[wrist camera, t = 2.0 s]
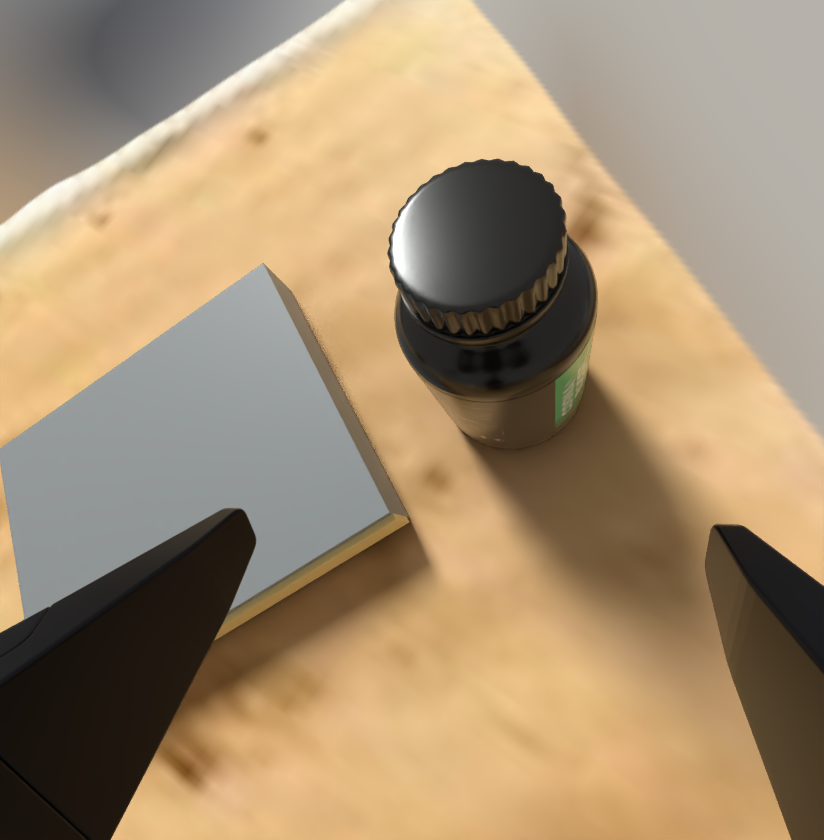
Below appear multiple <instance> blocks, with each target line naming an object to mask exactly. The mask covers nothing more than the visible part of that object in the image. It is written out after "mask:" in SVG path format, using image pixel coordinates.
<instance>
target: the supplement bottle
mask: <svg viewBox="0 0 824 840" xmlns="http://www.w3.org/2000/svg"><path fill="white" fill-rule="evenodd" d="M392 229H393V231H392V233H391V235H390V237H389V244H390V247H389V249H388V253H387V254H388V257H389V259H390V265H389V268H390V272H391V274H392V275H393V277H394V280H395V284H396V286H397V288H398V292H397V296H396V302H395V311H394V320H395V329H396V334H397V338H398V341H399V344H400V347H401V349H402V351H403V353H404V355H405V357H406V359H407V360H408V362H409V364H410V365H411V367H412V368H413V369H414V371H415V372H416V373H417V375H418V376H419V377H420V379H421V380H422V381H423V382H424V384H425V385H426V386H427V388H428V389H429V390H430V392H431V393H432V394H433V395H434V397H435V398H436V399H437V401H438V402H439V403H440V405H441V406H442V407H443V408H444V410H445V411H446V412H447V414H448V415H449V416H450V418H451V419H452V420H453V421H454V422H455V424H456V425H457V426H458V427H459V428H460V429H461V430H462V431H463V432H465V433H466V434H467V435H468V436H470V437H471V438H473V439H475V440H476V441H478V442H480V443H483V444H485V445H488V446H492V447H496V448H503V449H518V448H525V447H529V446H533V445H536V444H538V443H541V442H543V441H545V440H547V439H549V438H550V437H552V436H554V435H555V434H556V433H558V432H559V431H560V430H561V429H562V428H563V427H564V426H565V425H566V424H567V423H568V422H569V421H570V419H571V418H572V417H573V415H574V413H575V412H576V410H577V408H578V406H579V404H580V401H581V398H582V395H583V391H584V386H585V382H586V376H587V370H588V364H589V358H590V352H591V346H592V340H593V334H594V328H595V322H596V315H597V304H598V291H597V283H596V278H595V274H594V271H593V269H592V266H591V263H590V261H589V259H588V257H587V256H586V254H585V253H584V251H583V250H582V248H581V247H580V246H579V244H578V243H577V242H576V241H575V240H574V239H573V238H572V237H571V236H570V235H569V234H568V233H567V230H566V213H565V211H564V209H563V208H562V199H561V197H560V196H559V195H558V194H557V193H556V192H555V190H554V186H553V184H551V183H550V182H547V181H545V179H544V177H543V175H542V174H540V173H536V172H533V170H532V169H531V168H530V167H529V166H522V165H519V164H518V163H516V162H515V161H503V160H500V159H493V160H484V159H480V160H477V161H475V162H464V163H462V164H461V165H459V166H457V167H451V168H448V169H447V170H445V171H444V172H443V173H441V174H438V175H435V176H433V177H432V178H431V179H430V180H429V181H428V182H427V183H425V184H423V185H421V186H420V187H419V188H418V190H417V191H416V193H414V194H413V195H411V196H410V197H409V198H408V200H407V202H406V204H405V205H404V206H403V207H402V208H401V209H400V210H399V213H398V218H397V219H396V220H395V222H394V223H393V225H392Z"/></svg>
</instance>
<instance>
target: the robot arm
mask: <svg viewBox="0 0 824 840" xmlns="http://www.w3.org/2000/svg"><path fill="white" fill-rule="evenodd" d="M255 547H256V535H255V533H254V530H253V528H252V526H251V523H250V521H249V519H248V516H247V514H246V512H245V511H244V510H243V509H241V508H224V509H222V510H220V511H218V512H216V513H214V514H213V515H211V516H209V517H207V518H205V519H204V520H202V521H200V522H198V523H197V524H195V525H193V526H191V527H189V528H188V529H186V530H184V531H182V532H180V533H179V534H177V535H175V536H173V537H172V538H170V539H168V540H166V541H164V542H163V543H161V544H159V545H157V546H155V547H154V548H152V549H150V550H148V551H147V552H145V553H143V554H141V555H139V556H138V557H136V558H134V559H132V560H130V561H129V562H127V563H125V564H123V565H121V566H120V567H118V568H116V569H114V570H113V571H111V572H109V573H107V574H105V575H104V576H102V577H100V578H98V579H96V580H95V581H93V582H91V583H89V584H88V585H86V586H84V587H82V588H80V589H79V590H77V591H75V592H73V593H71V594H70V595H68V596H66V597H64V598H63V599H61V600H59V601H57V602H55V603H54V604H52V605H51V607H46V608H44V609H43V610H41V611H39V612H37V613H36V614H34V615H32V616H30V617H28V618H27V619H25V620H23V621H21V622H19V623H17V624H16V625H14V626H12V627H10V628H8V629H6V630H5V631H3V632H1V633H0V840H111V838H112V836H113V834H114V832H115V830H116V828H117V826H118V825H119V823H120V821H121V819H122V817H123V815H124V813H125V811H126V809H127V807H128V805H129V803H130V801H131V800H132V798H133V796H134V794H135V792H136V790H137V788H138V786H139V784H140V782H141V780H142V778H143V776H144V774H145V773H146V771H147V769H148V767H149V765H150V763H151V761H152V759H153V757H154V755H155V753H156V751H157V749H158V748H159V746H160V744H161V742H162V740H163V738H164V736H165V734H166V732H167V730H168V728H169V726H170V724H171V723H172V721H173V719H174V717H175V715H176V713H177V711H178V709H179V707H180V705H181V703H182V701H183V699H184V698H185V696H186V694H187V692H188V690H189V688H190V686H191V684H192V682H193V680H194V678H195V676H196V674H197V673H198V671H199V669H200V667H201V665H202V663H203V661H204V659H205V657H206V655H207V653H208V651H209V649H210V647H211V646H212V644H213V642H214V640H215V638H216V636H217V634H218V632H219V630H220V628H221V626H222V624H223V622H224V620H225V618H226V616H227V614H228V612H229V610H230V608H231V606H232V603H233V601H234V599H235V596H236V594H237V591H238V589H239V586H240V584H241V581H242V579H243V577H244V574H245V572H246V569H247V567H248V564H249V562H250V559H251V557H252V554H253V552H254V549H255ZM705 570H706V576H707V580H708V584H709V589H710V593H711V597H712V601H713V606H714V610H715V614H716V618H717V622H718V627H719V631H720V635H721V639H722V643H723V648H724V652H725V655H726V659H727V663H728V666H729V669H730V672H731V675H732V678H733V681H734V684H735V687H736V690H737V692H738V695H739V698H740V700H741V703H742V706H743V709H744V711H745V714H746V717H747V720H748V722H749V725H750V728H751V730H752V733H753V736H754V739H755V741H756V744H757V747H758V750H759V752H760V755H761V758H762V761H763V763H764V766H765V769H766V771H767V774H768V777H769V780H770V782H771V785H772V788H773V791H774V793H775V796H776V799H777V801H778V804H779V807H780V810H781V812H782V815H783V818H784V821H785V823H786V826H787V829H788V831H789V834H790V837H791V840H824V586H823V585H822V584H820V583H819V582H818V581H816V580H815V579H814V578H812V577H811V576H810V575H808V574H807V573H806V572H804V571H803V570H802V569H800V568H799V567H798V566H796V565H795V564H794V563H792V562H791V561H790V560H788V559H787V558H786V557H784V556H783V555H782V554H781V553H779V552H778V551H777V550H775V549H774V548H773V547H771V546H770V545H769V544H767V543H766V542H765V541H763V540H762V539H761V538H759V537H758V536H757V535H755V534H754V533H753V532H751V531H750V530H749V529H747V528H746V527H744V526H742V525H735V524H716V525H714V526H713V527H712V528H711V531H710V536H709V542H708V548H707V553H706V559H705Z"/></svg>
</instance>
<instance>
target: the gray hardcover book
mask: <svg viewBox="0 0 824 840" xmlns="http://www.w3.org/2000/svg"><path fill="white" fill-rule="evenodd" d="M0 465H1V472H2V478H3V484H4V491H5V497H6V504H7V510H8V516H9V523H10V529H11V536H12V542H13V548H14V555H15V561H16V567H17V574H18V580H19V587H20V593H21V599H22V606H23V612H24V619H27V618H28V617H30V616H32V615H34V614H36V613H37V612H39V611H41V610H43V609H44V608H46V607H51V605H52V604H54V603H55V602H57V601H59V600H61V599H63V598H64V597H66V596H68V595H70V594H71V593H73V592H75V591H77V590H79V589H80V588H82V587H84V586H86V585H88V584H89V583H91V582H93V581H95V580H96V579H98V578H100V577H102V576H104V575H105V574H107V573H109V572H111V571H113V570H114V569H116V568H118V567H120V566H121V565H123V564H125V563H127V562H129V561H130V560H132V559H134V558H136V557H138V556H139V555H141V554H143V553H145V552H147V551H148V550H150V549H152V548H154V547H155V546H157V545H159V544H161V543H163V542H164V541H166V540H168V539H170V538H172V537H173V536H175V535H177V534H179V533H180V532H182V531H184V530H186V529H188V528H189V527H191V526H193V525H195V524H197V523H198V522H200V521H202V520H204V519H205V518H207V517H209V516H211V515H213V514H214V513H216V512H218V511H220V510H222V509H224V508H241V509H243V510H244V511H245V512H246V514H247V516H248V519H249V521H250V523H251V526H252V528H253V530H254V533H255V535H256V547H255V549H254V552H253V554H252V557H251V559H250V562H249V564H248V567H247V569H246V572H245V574H244V577H243V579H242V581H241V584H240V586H239V589H238V591H237V594H236V596H235V599H234V601H233V603H232V606H231V608H230V610H229V612H228V614H227V616H226V618H225V620H224V622H223V624H222V626H221V628H220V630H219V632H218V634H217V636H216V638H215V640H216V639H218V638H220V637H221V636H223V635H225V634H226V633H228V632H230V631H231V630H233V629H235V628H236V627H238V626H239V625H241V624H243V623H244V622H246V621H248V620H249V619H251V618H253V617H254V616H256V615H258V614H259V613H261V612H263V611H264V610H266V609H267V608H269V607H271V606H272V605H274V604H276V603H277V602H279V601H281V600H282V599H284V598H286V597H287V596H289V595H290V594H292V593H294V592H295V591H297V590H299V589H300V588H302V587H304V586H305V585H307V584H309V583H310V582H312V581H313V580H315V579H317V578H318V577H320V576H322V575H323V574H325V573H327V572H328V571H330V570H332V569H333V568H335V567H337V566H338V565H340V564H341V563H343V562H345V561H346V560H348V559H350V558H351V557H353V556H355V555H356V554H358V553H360V552H361V551H363V550H364V549H366V548H368V547H369V546H371V545H373V544H374V543H376V542H378V541H379V540H381V539H383V538H384V537H386V536H387V535H389V534H391V533H392V532H394V531H396V530H397V529H399V528H401V527H402V526H404V525H406V524H407V523H409V521H408V518H409V516H408V514H407V512H406V510H405V508H404V506H403V504H402V502H401V500H400V498H399V497H398V495H397V493H396V491H395V489H394V487H393V485H392V483H391V481H390V479H389V477H388V475H387V474H386V472H385V470H384V468H383V466H382V464H381V462H380V460H379V458H378V456H377V454H376V453H375V451H374V449H373V447H372V445H371V443H370V441H369V439H368V437H367V435H366V433H365V431H364V430H363V428H362V426H361V424H360V422H359V420H358V418H357V416H356V414H355V412H354V410H353V409H352V407H351V405H350V403H349V401H348V399H347V397H346V395H345V393H344V391H343V389H342V387H341V386H340V384H339V382H338V380H337V378H336V376H335V374H334V372H333V370H332V368H331V366H330V365H329V363H328V361H327V359H326V357H325V355H324V353H323V351H322V349H321V347H320V345H319V343H318V342H317V340H316V338H315V336H314V334H313V332H312V330H311V328H310V326H309V324H308V322H307V321H306V319H305V317H304V315H303V313H302V311H301V309H300V307H299V305H298V303H297V301H296V299H295V298H294V296H293V294H292V292H291V290H290V289H289V288H288V287H287V286H286V285H285V284H284V283H283V282H282V281H281V280H280V279H279V278H278V277H277V276H276V275H275V274H274V273H273V272H272V271H271V270H270V269H269V268H268V267H267V266H266V265H265V264H264V263H262V264H261V265H260V266H258V267H257V268H255V269H254V270H253V271H251V272H250V273H248V274H247V275H245V276H244V277H243V278H241V279H240V280H238V281H237V282H236V283H234V284H233V285H231V286H230V287H228V288H227V289H226V290H224V291H223V292H221V293H220V294H219V295H217V296H216V297H214V298H213V299H211V300H210V301H209V302H207V303H206V304H204V305H203V306H202V307H200V308H199V309H197V310H196V311H194V312H193V313H192V314H190V315H189V316H187V317H186V318H185V319H183V320H182V321H180V322H179V323H177V324H176V325H175V326H173V327H172V328H170V329H169V330H168V331H166V332H165V333H163V334H162V335H160V336H159V337H158V338H156V339H155V340H153V341H152V342H151V343H149V344H148V345H146V346H145V347H143V348H142V349H141V350H139V351H138V352H136V353H135V354H134V355H132V356H131V357H129V358H128V359H126V360H125V361H124V362H122V363H121V364H119V365H118V366H117V367H115V368H114V369H112V370H111V371H109V372H108V373H107V374H105V375H104V376H102V377H101V378H99V379H98V380H97V381H95V382H94V383H92V384H91V385H90V386H88V387H87V388H85V389H84V390H82V391H81V392H80V393H78V394H77V395H75V396H74V397H73V398H71V399H70V400H68V401H67V402H65V403H64V404H63V405H61V406H60V407H58V408H57V409H56V410H54V411H53V412H51V413H50V414H48V415H47V416H46V417H44V418H43V419H41V420H40V421H39V422H37V423H36V424H34V425H33V426H31V427H30V428H29V429H27V430H26V431H24V432H23V433H22V434H20V435H19V436H17V437H16V438H14V439H13V440H12V441H10V442H9V443H7V444H6V445H5V446H3V447H2V448H0ZM215 640H214V641H215Z"/></svg>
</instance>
